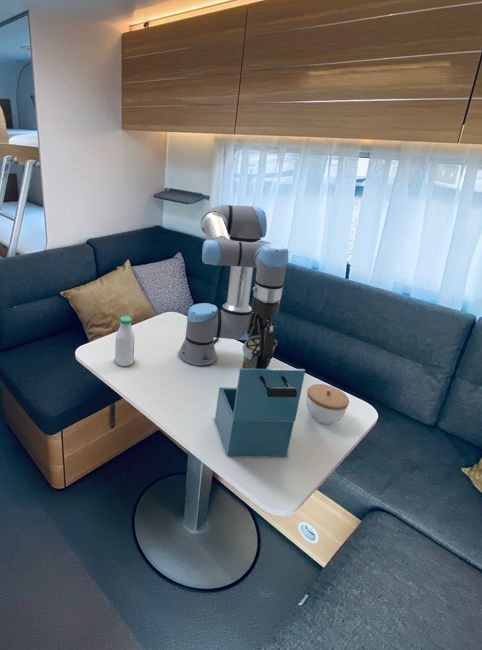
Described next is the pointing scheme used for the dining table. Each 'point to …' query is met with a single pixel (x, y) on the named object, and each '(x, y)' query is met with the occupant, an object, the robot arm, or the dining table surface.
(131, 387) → the dining table surface
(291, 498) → the dining table surface
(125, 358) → the milk bottle
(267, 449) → the box
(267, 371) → the freezer lid
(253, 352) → the food container
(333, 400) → the lidded bowl
